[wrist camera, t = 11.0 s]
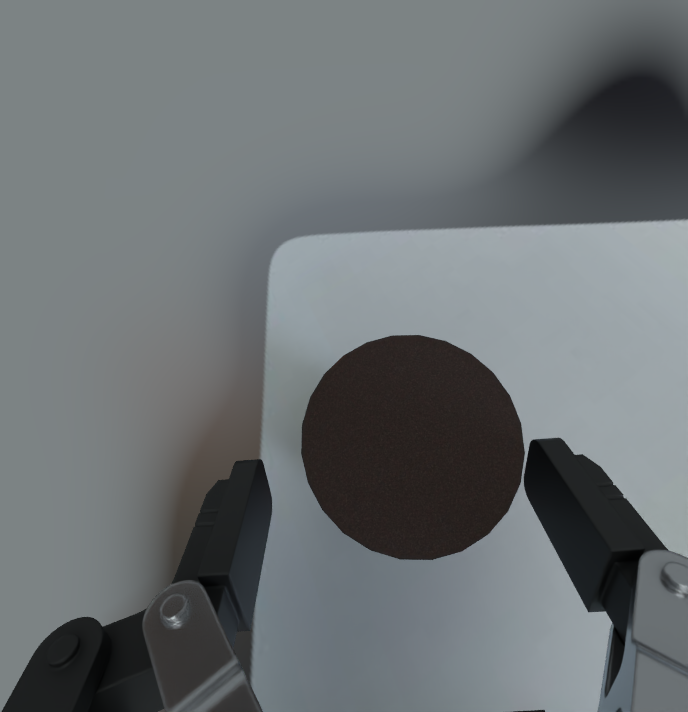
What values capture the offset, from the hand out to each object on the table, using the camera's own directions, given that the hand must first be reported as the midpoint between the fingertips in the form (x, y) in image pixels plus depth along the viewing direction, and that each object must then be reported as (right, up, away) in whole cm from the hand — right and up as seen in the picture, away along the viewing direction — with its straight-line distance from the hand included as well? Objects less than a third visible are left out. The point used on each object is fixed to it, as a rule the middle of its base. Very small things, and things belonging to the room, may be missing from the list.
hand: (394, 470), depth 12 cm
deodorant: (+1, -3, +13) cm, 14 cm away
